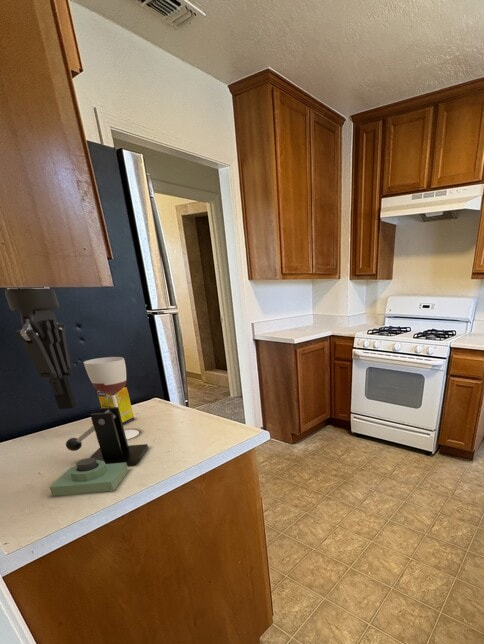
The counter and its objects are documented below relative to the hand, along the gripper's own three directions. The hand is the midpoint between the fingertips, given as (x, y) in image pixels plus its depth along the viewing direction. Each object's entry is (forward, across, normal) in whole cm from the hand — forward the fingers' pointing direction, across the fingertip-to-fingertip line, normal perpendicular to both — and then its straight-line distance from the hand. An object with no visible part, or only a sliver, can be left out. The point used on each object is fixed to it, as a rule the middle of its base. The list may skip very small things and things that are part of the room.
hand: (67, 407), depth 75 cm
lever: (+10, +8, 0) cm, 13 cm away
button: (+13, -4, -2) cm, 14 cm away
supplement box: (+17, +36, +5) cm, 40 cm away
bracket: (+17, +8, -3) cm, 19 cm away
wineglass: (+17, +24, 0) cm, 30 cm away
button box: (+17, -4, -2) cm, 17 cm away
